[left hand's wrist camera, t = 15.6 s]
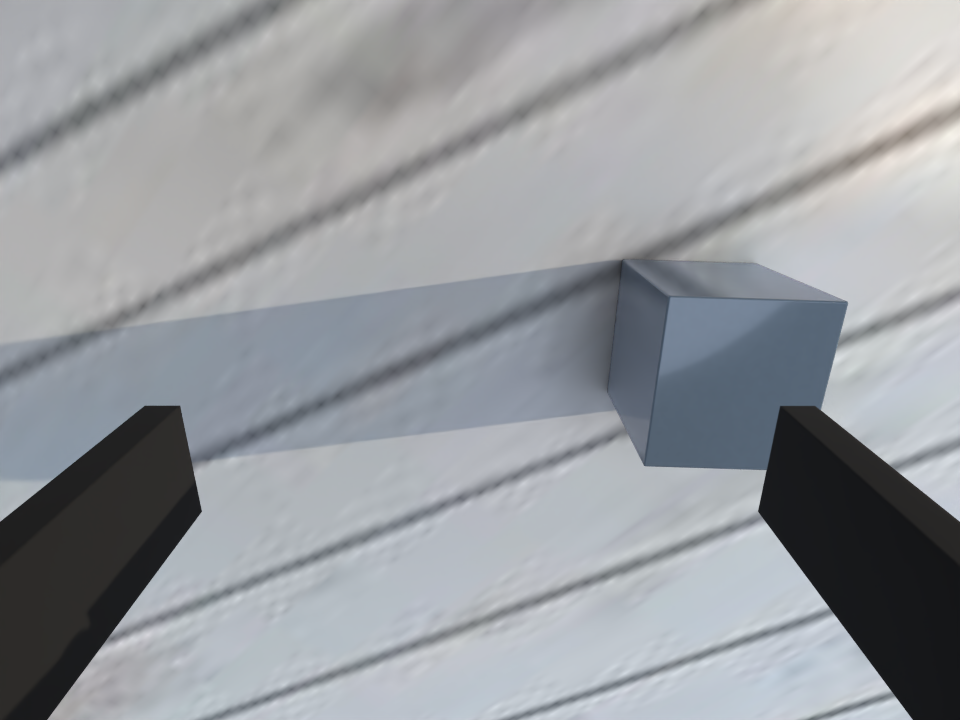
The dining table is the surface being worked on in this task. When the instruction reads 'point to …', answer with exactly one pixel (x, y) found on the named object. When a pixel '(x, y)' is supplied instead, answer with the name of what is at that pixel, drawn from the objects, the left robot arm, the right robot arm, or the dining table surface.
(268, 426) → the dining table surface
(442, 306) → the dining table surface
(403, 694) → the dining table surface
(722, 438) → the cube
